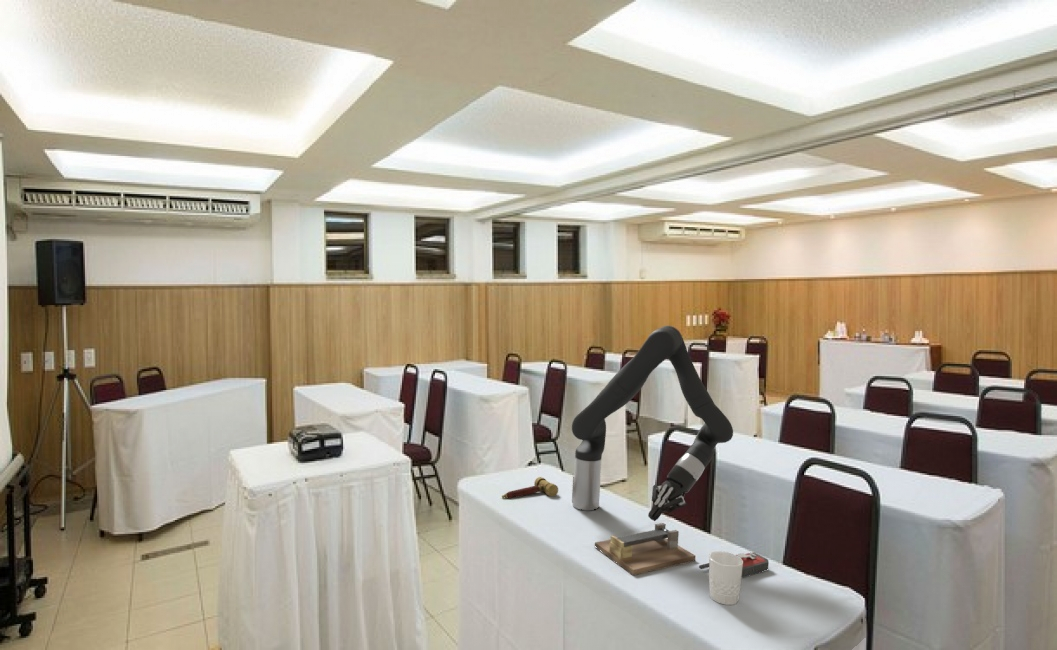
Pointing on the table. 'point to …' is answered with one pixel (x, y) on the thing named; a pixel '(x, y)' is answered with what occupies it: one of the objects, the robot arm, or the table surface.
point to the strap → (644, 537)
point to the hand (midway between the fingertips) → (651, 518)
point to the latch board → (647, 553)
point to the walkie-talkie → (749, 564)
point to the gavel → (534, 489)
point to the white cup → (725, 577)
